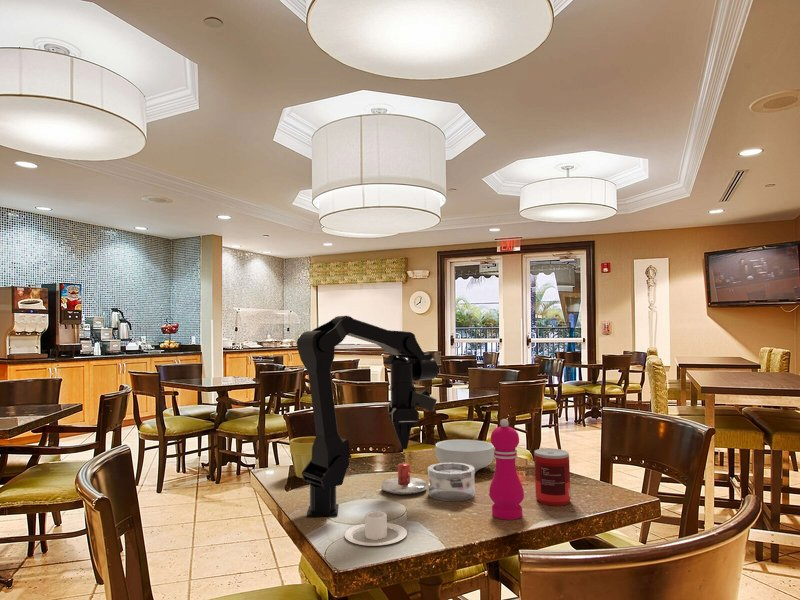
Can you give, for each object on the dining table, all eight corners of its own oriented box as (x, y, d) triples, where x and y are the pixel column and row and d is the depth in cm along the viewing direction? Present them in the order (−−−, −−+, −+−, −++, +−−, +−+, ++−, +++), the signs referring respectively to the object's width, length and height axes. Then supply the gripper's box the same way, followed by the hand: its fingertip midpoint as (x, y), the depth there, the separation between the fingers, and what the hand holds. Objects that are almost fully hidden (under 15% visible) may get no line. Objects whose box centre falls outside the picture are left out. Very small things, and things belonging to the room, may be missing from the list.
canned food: (555, 494, 126) (554, 447, 127) (578, 503, 119) (576, 453, 120) (528, 498, 124) (527, 450, 124) (550, 508, 116) (548, 457, 117)
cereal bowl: (484, 480, 140) (484, 452, 140) (426, 474, 147) (426, 448, 147) (501, 465, 155) (501, 440, 155) (448, 460, 162) (447, 437, 163)
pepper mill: (499, 522, 108) (496, 422, 109) (484, 511, 115) (481, 417, 116) (531, 518, 110) (527, 420, 111) (514, 507, 117) (511, 415, 118)
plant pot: (331, 470, 152) (331, 436, 153) (322, 480, 142) (322, 443, 142) (296, 470, 153) (295, 436, 154) (284, 480, 143) (284, 443, 143)
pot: (482, 503, 120) (481, 475, 120) (433, 505, 119) (433, 477, 119) (467, 484, 136) (466, 459, 136) (424, 485, 135) (424, 461, 135)
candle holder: (339, 530, 106) (338, 508, 106) (396, 523, 109) (396, 501, 110) (352, 553, 94) (351, 528, 95) (415, 544, 98) (415, 520, 98)
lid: (429, 496, 126) (429, 469, 127) (382, 498, 125) (382, 471, 126) (423, 483, 137) (423, 458, 138) (380, 485, 137) (380, 460, 137)
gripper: (439, 384, 125) (441, 452, 124) (428, 378, 143) (429, 437, 142) (392, 385, 124) (393, 453, 123) (387, 379, 142) (388, 438, 141)
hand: (403, 445), depth 132 cm, fingers open, 9 cm apart
